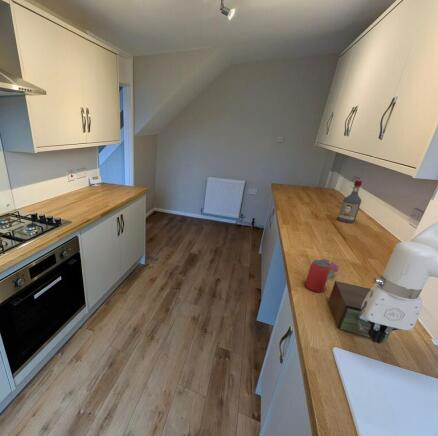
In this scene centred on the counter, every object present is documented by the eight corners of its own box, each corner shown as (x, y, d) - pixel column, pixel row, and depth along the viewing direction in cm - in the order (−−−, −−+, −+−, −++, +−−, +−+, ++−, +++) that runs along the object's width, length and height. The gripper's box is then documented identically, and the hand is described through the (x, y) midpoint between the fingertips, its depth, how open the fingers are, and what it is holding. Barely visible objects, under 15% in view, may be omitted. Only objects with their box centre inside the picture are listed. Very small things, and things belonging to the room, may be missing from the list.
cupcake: (339, 281, 104) (348, 257, 100) (318, 278, 106) (325, 255, 102) (330, 270, 112) (337, 248, 108) (310, 268, 114) (317, 246, 110)
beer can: (304, 281, 104) (311, 257, 100) (322, 286, 101) (330, 261, 97) (304, 289, 99) (312, 264, 95) (323, 294, 96) (332, 269, 91)
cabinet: (385, 341, 74) (397, 317, 71) (337, 327, 80) (345, 304, 76) (369, 312, 87) (378, 290, 83) (328, 301, 92) (335, 280, 89)
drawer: (392, 352, 70) (402, 332, 67) (344, 338, 74) (352, 318, 72) (370, 313, 85) (378, 295, 82) (331, 303, 89) (338, 286, 87)
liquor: (340, 217, 182) (352, 179, 172) (354, 221, 176) (368, 181, 165) (336, 220, 177) (348, 180, 166) (351, 224, 170) (365, 183, 160)
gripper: (369, 287, 62) (347, 339, 69) (447, 304, 57) (415, 359, 63) (358, 272, 69) (339, 321, 75) (428, 286, 63) (401, 338, 70)
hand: (374, 338), depth 69 cm, fingers closed
